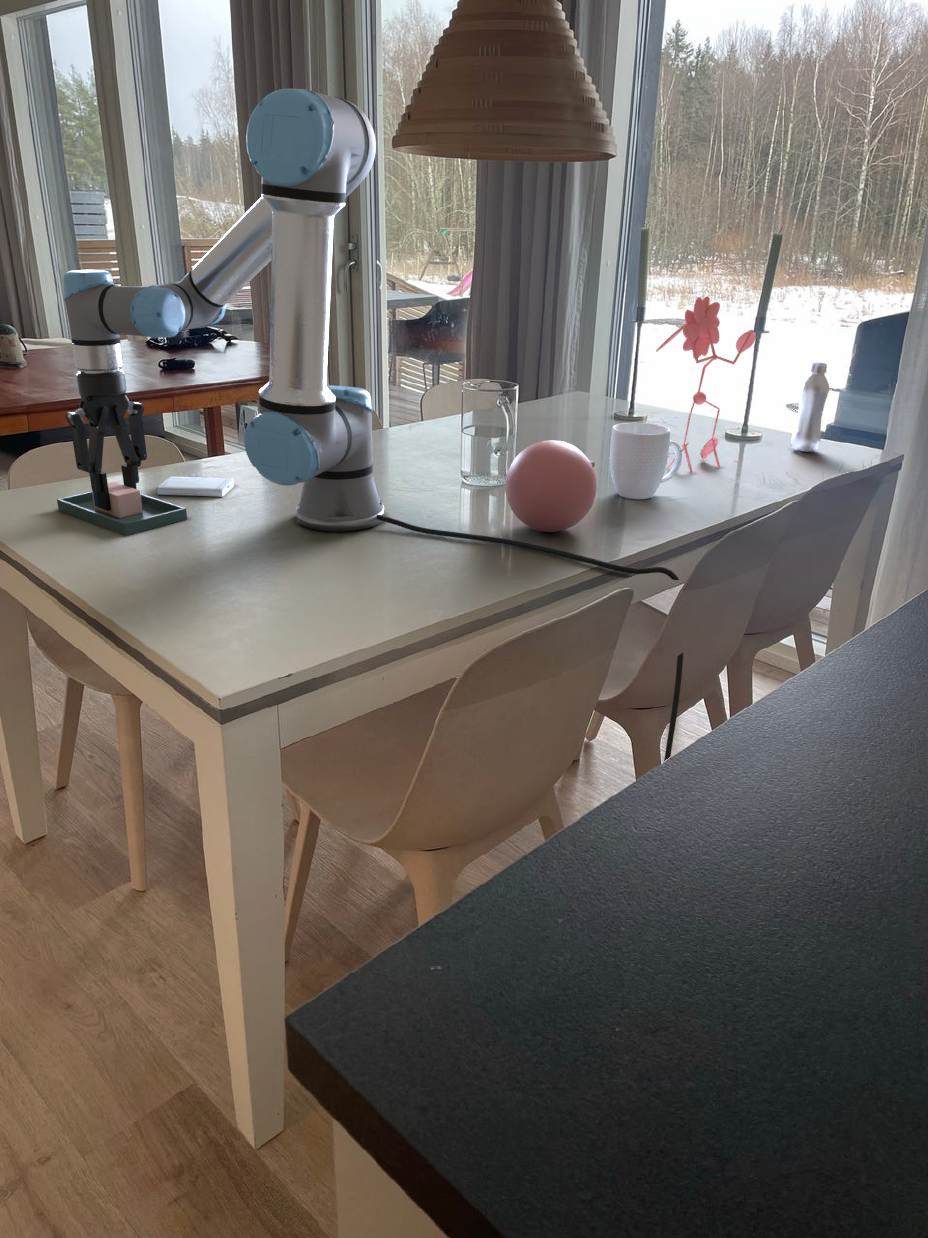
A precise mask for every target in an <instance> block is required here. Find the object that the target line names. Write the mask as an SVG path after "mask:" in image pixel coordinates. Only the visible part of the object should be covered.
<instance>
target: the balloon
mask: <svg viewBox="0 0 928 1238" xmlns="http://www.w3.org/2000/svg"><path fill="white" fill-rule="evenodd" d="M595 465H596V463H595V462H594V461H592V460H589V459H588V457H587V456H586V454H585V453H584V452H582V451H581V449H579V448H578V447H576V446H575V445H573V444H571V443H568V442H566V441H561V440H555V439H552V440H551V439H550V440H542V441H537V442H535V443H532V444H531V445H528V446H527V447H526V448H524V449H522V450H521V451H520V452H519V453H518V454H517V455H516V456H515V458H514V459H513V460H512V462H511V464H510V466H509V468H508V470H507V473H506V477H505V484H504V485H505V487H504V488H505V497H506V500H507V503H508V505H509V508H510V510H511V511H512V513H513V515H514V516H515V517H516V518H517V519H518V520H519V521H520V522H522V523H523V524H524V525H526V526H527V527H528V528H531V529H533V530H536V531H540V532H545V533H556V532H561V531H565V530H568V529H570V528H572V527H574V526H576V525H577V524H578V523H580V522H581V521H582V520H583V519H584V518H585V517H586V516H587V514H588V513H589V512H590V510H591V509H592V507H593V504H594V502H595V499H596V495H597V494H596V493H597V487H598V485H597V476H596V472H595V469H594V467H595Z"/></svg>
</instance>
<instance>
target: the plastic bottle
mask: <svg viewBox="0 0 928 1238" xmlns="http://www.w3.org/2000/svg"><path fill="white" fill-rule="evenodd" d="M827 369H828V364H827V363H825V362H811V363H810V364H809V369H808V372H809V374H808V375H806V377H805V378H804V379H803V380H802V382H801V383H800V386H799V403H798V412H797V419H796V422H795V427H794V430H793V431H792V434H791V440H790V441H791V442H790V445H791V447H792V449H793V450H796V451H799V452H803V453H808V452H815V451H816V450H817V449H818V448H819V446H820V445H821V444H820V443H821V438H822V436H821V433H822V432H821V429H822V427H821V426H822V417H823V412H824V408H825V404H826V401H827V398H828V394H829V392H830V384H829V382H828V379H827V377H826V375H825V374H826V373H827Z"/></svg>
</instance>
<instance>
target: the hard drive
mask: <svg viewBox="0 0 928 1238" xmlns="http://www.w3.org/2000/svg"><path fill="white" fill-rule="evenodd" d="M234 486H235V479H234V478H220V477H198V476H197V477H196V476H175V475H174V476H169V477H167V478H166V479H165V480H164V481H163V482H161V483H160V484H159V485H158V486H157V487H156V495H160V496H189V497H190V496H191V497H221V498H222V497H224V496H225V495H226V494H228V492H229V491H231V490H232V489H233V488H234Z"/></svg>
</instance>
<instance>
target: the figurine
mask: <svg viewBox="0 0 928 1238" xmlns="http://www.w3.org/2000/svg"><path fill="white" fill-rule="evenodd" d="M710 300H711V298H710V297H709V295H707V296H705V297H703V298H701V296H697V298H696V299H695V301H694V305H693V310H691V309H686V310H685V312H684V322H685V323H684V324H683V325H682V326H681V327H679V328H678V329H677V330H675V332H673V333H672V334H671V335H670V336H669V337H668V338H667V339H665V341H663V343H661V345H660V346H659V347H658V348H657V349H656V350H655V352H656V353H658V352H659V351H661V349H663V348H664V347H665V346H666V345H668V344H669V343H670V342H671V341H672V340H674V338H676V337H677V336H678V335H679V334H680V333H681V332H682V334H683V336H684V338H685V340H684V341H683V344H682V345H683V346H682V350H683V351H684V352H689V351H692V358H693V359H694V360H695V363H696V364H699V363H703V362H706V361H708V362H706V363H704V365H703V366H702V369H701V370H702V371H701V375H700V378H699V379H700V380H699V385H698V390H697V392H696V393H694V394H693V396H692V405H691V408H690V412H689V414H688V418H687V422H686V423H687V424H686V427H685V428H686V429H685V434H684V438H683V439H684V440H683V445H682V446H681V448H682V449H681V451H682V452H683V451H684V454H685V458H686V462H687V467H688V469H689V473H690V474H693V468H692V464H691V459H690V456H689V452H688V448H687V446H688V445H689V444H690V442H687V443H686V441H687V436H688V431H689V426H690V422H691V416H692V413H693V410H694V406H695V405H699V406H700V405H701V406H702V404H703V405H704V403H706V404H708V405H710V406H711V407H713V408H715V409H716V410H717V412H716V418H715V422H714V425H713V426H714V427H713V431H712V434H711V435H712V436H711V439H709V440H708V441H707V442H706V443H705V444H704V445H703V446H702V448H701V449H700V453H699V455H700V457H701V460H705V459H706V458H708V457H709V455H711V454H712V453H713V454H714V459H715V462H716V466H717V468H720V467H721V463H720V461H719V457H718V452H717V446H718V444H719V439H718V438H717V437H715V433H716V429H717V425H718V419H719V416H720V412H721V408H720V407H718V406H716V405H715V404H712V402H709V401H707V395H706V393H705V392H703V391H701V388H702V384H703V380H704V377H705V372H706V369H707V367H708V366H709V365H710V364H711V363H712V362H714V361H716V360H720V361H721V362H722V361H723V362H725V363H728V364H731V365H736V363H737V360H738V359H739V357H740V355H742V353H743V352H745V351H747V350H748V349H750V348H751V347H752V346H753V344H754V343H755V342H756V338H757V337H756V332H754V330H753V329H750V330H749V331H745V332H743V333H742V334H741V335H740V336H739V337H738V338H737V339H736V341H735V349H736V351H737V354H736V355H735V358H734V360H733V361H732V360H730V359H727V358H725V357H721V356H718V355H717V354H716V350H715V346H714V345H717V344H718V343H719V342H720V330H719V327H720V324H721V323H720V319H719V317H718V315H719V311H720V309H721V303H720V302H718V301H714V302H712V303H710ZM709 349H711V352H712V355H711V356H708V357H706V356H707V355H708V353H709ZM701 356H703V357H704V358H700V357H701ZM699 358H700V359H699ZM671 455H676V452H675V453H673V452H672V453H671ZM675 458H676V456H675V457H674V458H673V459H672V460H671V462H670V463H669V465H668V466H667V468H670V467H671V466H672V465H673V464H674V463H675ZM734 462H735V463H737V464H740V462H739V461H736V460H734Z"/></svg>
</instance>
